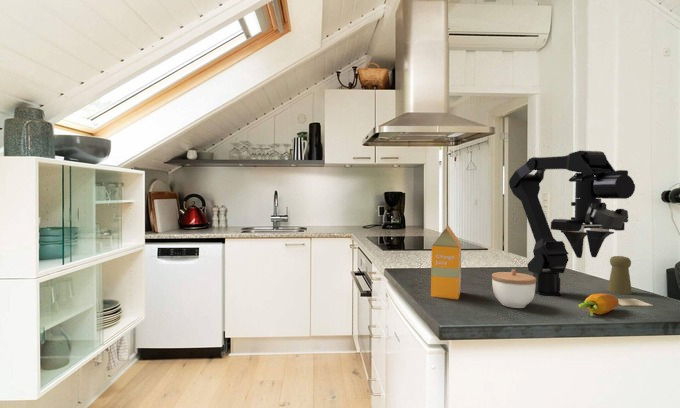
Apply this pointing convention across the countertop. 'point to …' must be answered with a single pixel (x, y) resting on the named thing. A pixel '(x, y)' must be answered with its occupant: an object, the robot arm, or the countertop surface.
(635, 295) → the countertop surface
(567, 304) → the countertop surface
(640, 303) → the beige rectangular sheet
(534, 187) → the robot arm
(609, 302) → the carrot
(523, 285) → the lidded jar
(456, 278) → the orange juice
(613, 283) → the cork
